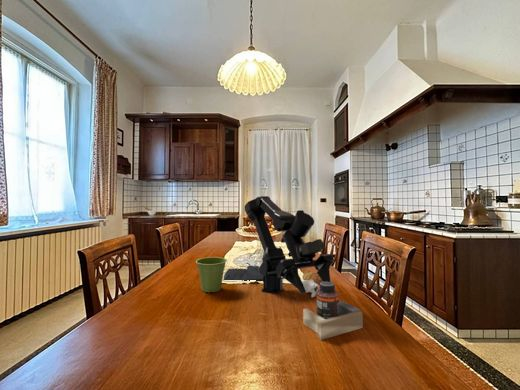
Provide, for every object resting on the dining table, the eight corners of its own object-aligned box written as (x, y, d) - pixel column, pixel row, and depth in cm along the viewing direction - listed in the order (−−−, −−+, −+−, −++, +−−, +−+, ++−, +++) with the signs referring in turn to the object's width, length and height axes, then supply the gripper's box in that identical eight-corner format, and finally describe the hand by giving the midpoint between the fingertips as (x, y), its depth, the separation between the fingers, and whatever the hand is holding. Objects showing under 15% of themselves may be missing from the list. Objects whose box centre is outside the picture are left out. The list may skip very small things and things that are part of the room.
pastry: (328, 283, 111) (328, 273, 111) (318, 286, 107) (317, 276, 107) (311, 278, 119) (311, 269, 119) (300, 281, 115) (300, 272, 115)
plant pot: (189, 293, 99) (189, 263, 99) (204, 284, 111) (204, 256, 111) (220, 296, 96) (220, 264, 96) (231, 286, 108) (231, 257, 108)
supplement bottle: (335, 320, 77) (334, 280, 77) (342, 330, 71) (342, 286, 71) (314, 320, 77) (314, 280, 77) (320, 330, 71) (319, 287, 71)
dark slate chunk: (227, 272, 129) (227, 262, 129) (274, 273, 128) (273, 263, 128) (221, 282, 114) (221, 271, 114) (273, 283, 112) (273, 271, 112)
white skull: (323, 299, 97) (308, 284, 106) (323, 282, 95) (307, 269, 104) (312, 303, 95) (297, 288, 104) (311, 287, 93) (296, 273, 102)
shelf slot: (299, 324, 74) (299, 308, 74) (339, 314, 81) (339, 299, 81) (320, 340, 66) (320, 321, 66) (363, 327, 72) (363, 310, 72)
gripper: (280, 232, 79) (302, 281, 69) (330, 228, 87) (356, 272, 77) (267, 254, 86) (286, 301, 76) (315, 248, 94) (337, 290, 84)
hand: (317, 290), depth 78 cm, fingers open, 9 cm apart
